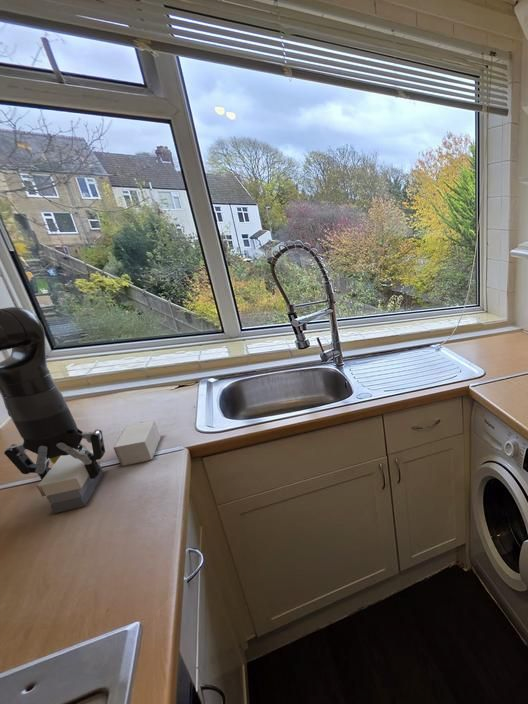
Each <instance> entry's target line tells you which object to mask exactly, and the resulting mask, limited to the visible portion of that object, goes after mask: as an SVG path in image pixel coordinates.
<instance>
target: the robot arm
mask: <svg viewBox="0 0 528 704" xmlns="http://www.w3.org/2000/svg"><path fill="white" fill-rule="evenodd" d="M7 350H11V353H10V355H9V356H8V357H7V358H5V359H4V360H2V361H0V395H1V398H2V400H3V404H4V407H5V409H6V410H7V415H8V417H10V418H11V421H12V422H13V424H14V426H15V428H16V430H17V432H18V433H19V435H20V437H21V439H23V442H22V443H19V444H16V443H14V444H10V445H9V446H8V447H7V449H6V450H5V451H4V453H3V454H4V455H5V456H6V457H7V459H9V461H10V462H11V463H12V464H13V465H14V466H15V467H16V468H17V469H18V471H19V472H20V473H21V474H23V475H29V474H37V475H38V476H39V478H40V481H42V479H43V478H44V477H45V475H46V474H47V473H48V472H49V470H50V469H51V468H52V467H50V462H51V461H50V458H55V457H57V456H65V455H71V456H72V457H74V458H76V459H79V460H80V461H82V462H83V463H85V465H84V466H85V468H86V470H87V472H88V474H89V476H90V478H91V479H93V478H96V477H97V475H98V474H99V472H100V468H99V465H98V463H97V461H96V460H98V461H99V460H101V459H102V458H103V457H104V455H105V454H106V449H105V442H104V436H103V431H102V430H101V429H97V428H96V429H95V430H94V431H86V432H85V431H84V432H83V431H82V430H81V429H79V428H78V426H77V423H76V421H75V419H74V417H73V415H72V412H71V409H70V408H69V406H68V403H67V402H66V399H65V397H64V395H63V393H62V392H61V391H60V389H59V388H58V386H57V385H56V382H55V380H54V378H53V376H52V374H51V371H50V370H49V368H48V364H47V361H48V360H47V349H46V331H45V328H44V325H43V324H42V321H41V320H40V319H39V317H37V315H36V314H34V313H33V312H31V311H30V310H28V309H26V308H23V307H19V306H10V307H4V308H3V307H2V308H0V352H3V351H7ZM83 439H84V440H86V441H87V443H90V444H91V448H92V449H91V450H93V453H92V452H90V451H89V449H88V447H87V446H85V445H84V444H83V443H82V440H83ZM27 451H29V452H31V453H34V454H36V456H37V457H36V460H35V461H36V462H35V463H34V461H33V460H32V459H31V457H29V455H27V453H26V452H27Z"/></svg>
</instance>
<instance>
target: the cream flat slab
mask: <svg viewBox="0 0 528 704" xmlns="http://www.w3.org/2000/svg"><path fill="white" fill-rule="evenodd" d="M88 450H89V449H88ZM89 451H90V452H92V453H93V449H90V450H89ZM96 461H98V462H99V460H96ZM84 465H85V463H83V462H82V461H80V460H79V459H76V458H74V457H72V456H71V455H65V456H60V457H59V458H58V460H57V461H56V462H55V464H54V463H53V465H52V466H51V467H50V468H51V469H50V470H49V472H48V473H47V474H46V475H45V477H44V478H43V479H42V480H40V482H39V483H38V484H37V485H36V488H37V489H38V491H39V493H40V495H41V497H42V498H44V497H47V496H49V495H53V494H58V493H62V492H67V491H71V490H76V489H80V488H82V486H83V485H84V483H85V481H86V480H87V478H88V476H89V474H88V472H87V470H86V468H85V466H84Z"/></svg>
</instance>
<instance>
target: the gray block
mask: <svg viewBox="0 0 528 704" xmlns="http://www.w3.org/2000/svg"><path fill="white" fill-rule="evenodd" d="M97 463H98V465H99V468H100V472H99V474H98V475H97V477H96V478H93V479H91V478H90V476H88V478H87V480H86V481H85V483H84V485H83V486H82V488H80V489H76V490H71V491H67V492H62V493H58V494H53V495H49V496H46V499H47V500H48V502H49V507H50V509H51V510H52V512H53V514H58V513H62V512H66V511H70V510H75V509H79V508H83V507H86V505H87V504H88V502H89V500H90V498H91V496H92V495H93V493H94V491H95V489H96V487H97V486H98V484H99V482H100V480H101V478H103V475H104V470H103V469H102V467H101V464H100V462H99V460H98V461H97Z"/></svg>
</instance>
